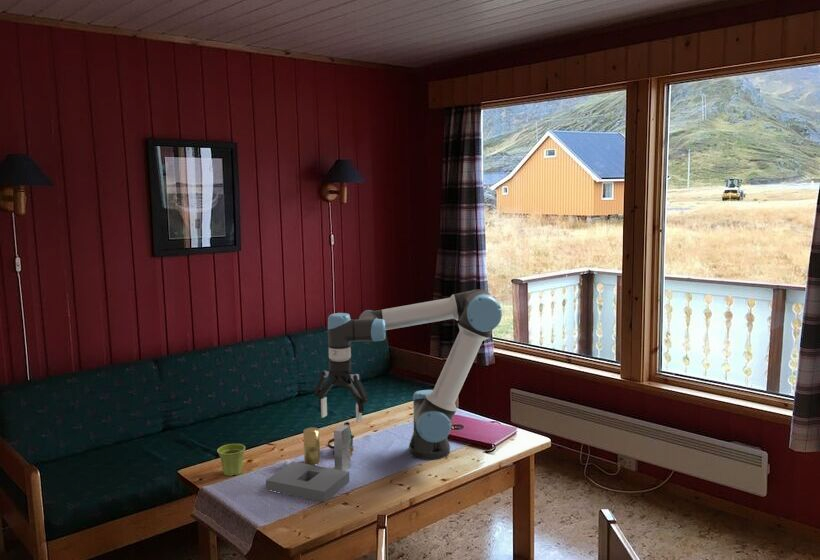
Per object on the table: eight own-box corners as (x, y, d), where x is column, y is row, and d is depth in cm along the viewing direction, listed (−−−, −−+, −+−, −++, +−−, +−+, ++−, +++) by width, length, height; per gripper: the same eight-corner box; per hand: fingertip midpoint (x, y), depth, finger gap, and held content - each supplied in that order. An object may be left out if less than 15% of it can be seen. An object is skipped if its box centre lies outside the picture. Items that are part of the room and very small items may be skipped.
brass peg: (323, 460, 245) (322, 428, 243) (314, 466, 240) (313, 433, 238) (309, 458, 247) (308, 426, 245) (301, 464, 242) (300, 431, 240)
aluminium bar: (350, 466, 240) (349, 425, 237) (342, 473, 234) (341, 431, 232) (343, 465, 241) (342, 424, 239) (334, 471, 235) (333, 430, 233)
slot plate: (349, 481, 227) (349, 471, 227) (324, 502, 213) (324, 491, 212) (293, 471, 236) (293, 461, 236) (266, 490, 222) (265, 480, 221)
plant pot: (212, 476, 233) (211, 452, 232) (229, 465, 242) (227, 442, 240) (236, 480, 230) (234, 455, 228) (251, 469, 238) (250, 445, 237)
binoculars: (327, 423, 256) (353, 420, 255) (330, 449, 257) (357, 447, 257) (323, 431, 247) (351, 428, 246) (327, 459, 248) (354, 456, 248)
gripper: (302, 358, 233) (304, 417, 236) (367, 365, 223) (368, 427, 226) (314, 352, 240) (315, 411, 243) (377, 359, 230) (378, 419, 233)
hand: (341, 418), depth 235 cm, fingers open, 13 cm apart
